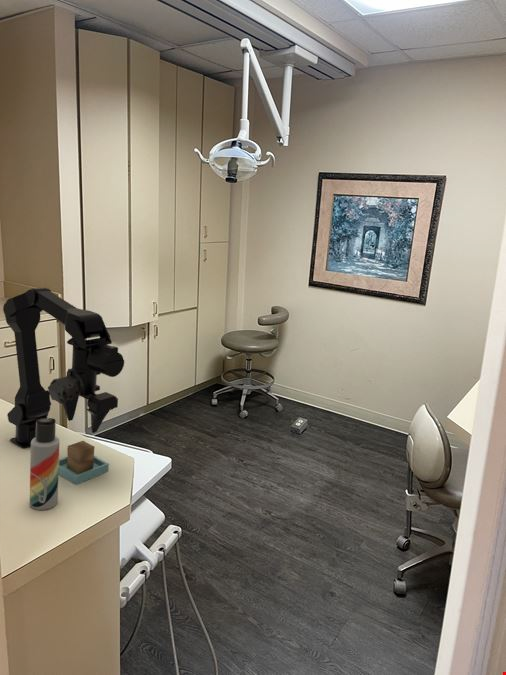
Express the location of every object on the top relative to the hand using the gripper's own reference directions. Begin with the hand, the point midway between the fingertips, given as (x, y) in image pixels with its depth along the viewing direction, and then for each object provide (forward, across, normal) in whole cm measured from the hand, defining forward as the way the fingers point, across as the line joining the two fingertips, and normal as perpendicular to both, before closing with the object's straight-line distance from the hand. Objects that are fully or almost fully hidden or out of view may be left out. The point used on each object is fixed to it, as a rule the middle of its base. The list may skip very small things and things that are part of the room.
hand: (82, 426), depth 123 cm
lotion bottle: (+12, +6, -14) cm, 20 cm away
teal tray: (+12, 0, 0) cm, 12 cm away
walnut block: (+11, 0, 0) cm, 11 cm away
